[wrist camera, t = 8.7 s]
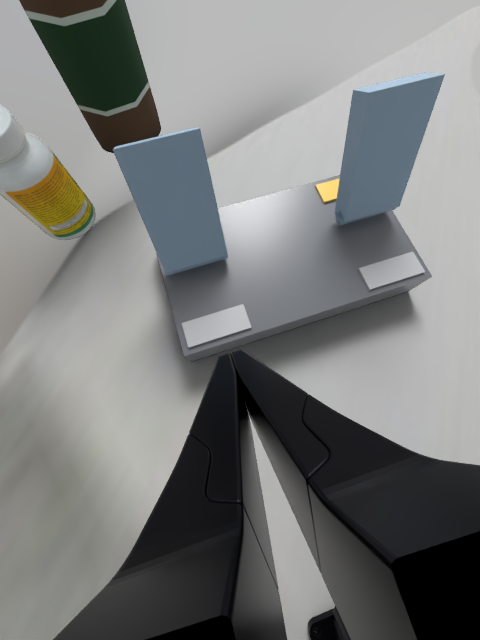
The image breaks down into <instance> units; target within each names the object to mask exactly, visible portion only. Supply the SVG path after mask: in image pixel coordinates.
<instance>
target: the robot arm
mask: <svg viewBox="0 0 480 640" xmlns="http://www.w3.org/2000/svg"><path fill="white" fill-rule="evenodd" d="M245 403H246V404H245ZM247 410H248V411H247ZM248 413H249V414H248ZM249 415H250V418H251V420H252V423H253V425H254V427H255V429H256V431H257V434H258V436H259V438H260V440H261V442H262V445H263V447H264V449H265V451H266V453H267V456H268V458H269V460H270V462H271V464H272V467H273V469H274V471H275V473H276V476H277V478H278V480H279V482H280V484H281V487H282V489H283V491H284V493H285V495H286V498H287V500H288V502H289V504H290V506H291V509H292V511H293V513H294V515H295V517H296V520H297V522H298V524H299V526H300V528H301V531H302V533H303V535H304V537H305V539H306V542H307V544H308V546H309V548H310V550H311V553H312V555H313V557H314V559H315V561H316V564H317V566H318V568H319V570H320V572H321V573H322V577H323V579H324V581H325V584H326V586H327V588H328V590H329V592H330V595H331V597H332V599H333V601H334V604H335V608H334V609H331V610H329V611H327V612H325V613H322V614H320V615H318V616H315V617H313V618H312V619H310V621H309V622H308V631H309V634H310V638H311V640H480V465H473V464H465V463H458V462H450V461H443V460H438V459H434V458H430V457H427V456H424V455H421V454H418V453H416V452H413V451H411V450H409V449H407V448H404V447H402V446H400V445H398V444H397V443H395V442H393V441H391V440H389V439H387V438H385V437H383V436H381V435H379V434H377V433H375V432H373V431H372V430H370V429H368V428H366V427H364V426H362V425H360V424H358V423H356V422H354V421H352V420H351V419H349V418H347V417H345V416H343V415H342V414H340V413H338V412H336V411H334V410H333V409H331V408H329V407H328V406H326V405H325V404H323V403H321V402H320V401H318V400H317V399H315V398H314V397H312V396H311V395H308V394H307V393H306V392H305V391H303V390H302V389H300V388H299V387H297V386H296V385H294V384H293V383H291V382H290V381H288V380H287V379H285V378H284V377H282V376H281V375H279V374H278V373H276V372H275V371H273V370H272V369H270V368H269V367H267V366H266V365H264V364H263V363H261V362H260V361H258V360H257V359H255V358H254V357H252V356H251V355H249V354H248V353H246V352H245V351H243V350H238V351H235V352H232V353H231V354H225V355H222V356H219V357H218V360H217V362H216V365H215V368H214V370H213V373H212V375H211V378H210V380H209V383H208V386H207V388H206V391H205V393H204V396H203V398H202V401H201V403H200V406H199V409H198V411H197V414H196V416H195V419H194V421H193V424H192V427H191V429H190V432H189V435H188V436H187V439H186V442H185V444H184V447H183V449H182V451H181V454H180V456H179V459H178V461H177V463H176V465H175V467H174V469H173V471H172V474H171V476H170V478H169V480H168V482H167V484H166V486H165V488H164V490H163V491H162V493H161V495H160V497H159V499H158V501H157V503H156V505H155V507H154V509H153V511H152V513H151V515H150V517H149V518H148V520H147V522H146V524H145V526H144V528H143V530H142V532H141V534H140V536H139V538H138V540H137V542H136V543H135V545H134V547H133V549H132V551H131V552H130V554H129V556H128V557H127V559H126V560H125V562H124V564H123V565H122V566H121V568H120V569H119V571H118V572H117V573H116V575H115V576H114V577H113V578H112V580H111V581H110V582H109V583H108V584H107V585H106V586H105V587H104V589H103V590H102V591H101V592H100V593H99V594H98V595H97V596H96V597H95V598H94V599H93V600H92V601H91V602H90V603H89V604H88V605H87V606H86V607H85V608H84V609H83V610H82V611H81V612H80V613H79V614H78V615H77V616H76V617H75V618H74V619H73V620H72V621H71V622H70V623H69V624H68V625H67V626H66V627H65V628H64V629H63V630H62V631H61V632H60V633H59V634H58V635H57V636H56V637H55V638H54V639H53V640H287V637H286V631H285V625H284V619H283V613H282V607H281V601H280V595H279V592H278V584H277V578H276V572H275V566H274V560H273V554H272V548H271V542H270V537H269V531H268V525H267V519H266V513H265V507H264V501H263V495H262V489H261V483H260V477H259V472H258V466H257V460H256V454H255V448H254V442H253V436H252V430H251V424H250V419H249ZM315 628H319V631H318V632H314V629H315Z"/></svg>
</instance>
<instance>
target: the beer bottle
mask: <svg viewBox="0 0 480 640" xmlns="http://www.w3.org/2000/svg"><path fill="white" fill-rule="evenodd" d="M20 2H21V4H22V6H23V8H24V10H25V12H26V14H27V16H28V18H29V19H30V21H31V23H32V25H33V26H34V28H35V30H36V32H37V34H38V35H39V37H40V39H41V41H42V43H43V44H44V46H45V48H46V50H47V51H48V53H49V55H50V57H51V59H52V61H53V62H54V64H55V66H56V68H57V69H58V71H59V73H60V75H61V76H62V78H63V80H64V82H65V84H66V85H67V87H68V89H69V91H70V93H71V95H72V96H73V98H74V100H75V102H76V103H77V105H78V107H79V109H80V111H81V112H82V114H83V116H84V118H85V120H86V121H87V123H88V125H89V127H90V129H91V130H92V132H93V133H94V135H95V137H96V139H97V140H98V142H99V143H100V145H101V146H102V148H103V149H104V150H106V151H108V152H112V153H114V151H113V149H114V148H115V147H116V146H120V145H124V144H128V143H133V142H137V141H141V140H145V139H149V138H153V137H158V135H159V133H160V131H161V126H160V122H159V117H158V113H157V109H156V106H155V103H154V99H153V96H152V92H151V89H150V85H149V82H148V78H147V75H146V72H145V68H144V65H143V61H142V58H141V55H140V51H139V48H138V44H137V41H136V37H135V34H134V30H133V27H132V23H131V20H130V17H129V13H128V10H127V6H126V3H125V0H20Z"/></svg>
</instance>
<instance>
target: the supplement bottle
mask: <svg viewBox="0 0 480 640" xmlns="http://www.w3.org/2000/svg"><path fill="white" fill-rule="evenodd" d="M0 195H1V196H3V197H4V198H5V199H6V200H7V201H9V202H10V203H11V204H12V205H13V206H14V207H16V208H17V209H18V210H19V211H20V212H22V213H23V214H24V215H25V216H26V217H27V218H29V219H30V220H31V221H32V222H33V223H34V224H36V225H37V226H38V227H39V228H40V229H41V230H43V231H44V232H45V233H46V234H48V235H49V236H51V237H53V238H56V239H60V240H69V239H73V238H77V237H80V236H82V235H83V234H85V233H86V232H87V231H88V230H89V229H90V228H91V227H92V225H93V223H94V220H95V209H94V207H93V205H92V203H91V202H90V201H89V199H88V198H87V196H86V195H85V194H84V192H83V191H82V190H81V189H80V187H79V186H78V185H77V183H76V182H75V181H74V180H73V178H72V177H71V176H70V174H69V173H68V172H67V170H66V169H65V168H64V166H63V165H62V164H61V162H60V161H59V160H58V158H57V157H56V156H55V154H54V153H53V152H52V150H51V149H50V148H49V147H48V146H47V144H46V143H45V142H44V141H43V140H41V139H40V138H38V137H37V136H35V135H33V134H30V133H27V132H24V129H23V127H22V125H21V124H20V123H19V122H18V121H17V120H16V119H15V117H14V116H13V115H12V114H11V113H10V112H9V111H8V110H7V109H6V108H5V107H3V106H2V105H0Z"/></svg>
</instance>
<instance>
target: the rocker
mask: <svg viewBox="0 0 480 640" xmlns="http://www.w3.org/2000/svg"><path fill="white" fill-rule="evenodd" d="M113 151H114V153H115V156H116V158H117V161H118V163H119V165H120V168H121V170H122V172H123V175H124V177H125V179H126V182H127V184H128V186H129V189H130V191H131V193H132V196H133V198H134V200H135V203H136V205H137V208H138V210H139V212H140V215H141V217H142V219H143V222H144V224H145V226H146V229H147V231H148V233H149V236H150V238H151V240H152V243H153V245H154V247H155V250H156V252H157V254H158V257H159V259H160V261H161V264H162V266H163V268H164V271H165V273H166V274H167V276H168V275H171V274H175V273H178V272H182V271H185V270H189V269H192V268H195V267H199V266H202V265H206V264H209V263H213V262H216V261H220V260H223V259H226V258H228V253H227V248H226V244H225V239H224V235H223V230H222V226H221V221H220V217H219V212H218V208H217V203H216V199H215V194H214V190H213V185H212V181H211V176H210V172H209V167H208V163H207V158H206V154H205V150H204V145H203V140H202V136H201V131H200V128H197V127H195V128H191V129H187V130H183V131H178V132H174V133H170V134H166V135H162V136H158V137H153V138H149V139H145V140H141V141H137V142H133V143H128V144H124V145H120V146H116V147H115V148H114V149H113Z"/></svg>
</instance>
